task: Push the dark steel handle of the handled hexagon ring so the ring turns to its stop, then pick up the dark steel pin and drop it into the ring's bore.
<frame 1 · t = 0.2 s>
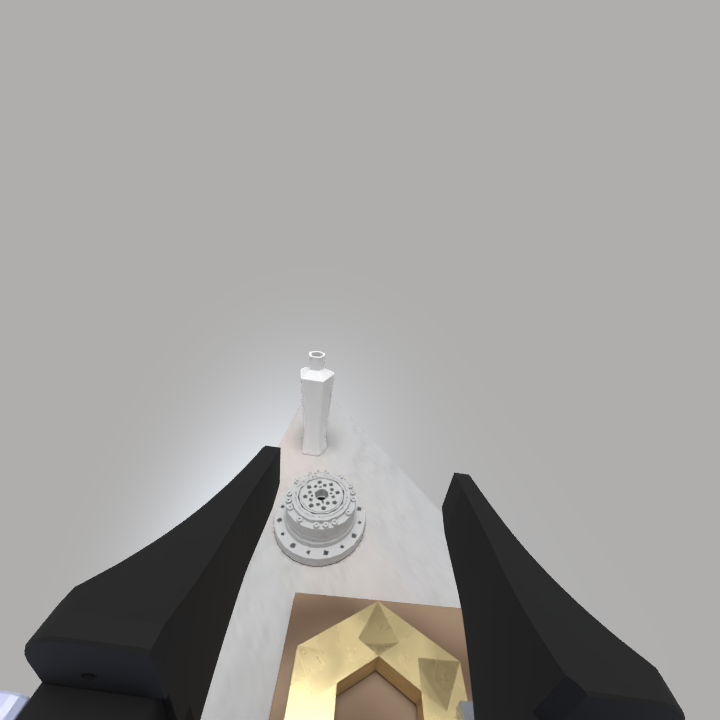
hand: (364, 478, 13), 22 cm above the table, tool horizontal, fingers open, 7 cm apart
mechanical component: (320, 524, 35), on the table
perfume bottle: (312, 448, 46), on the table
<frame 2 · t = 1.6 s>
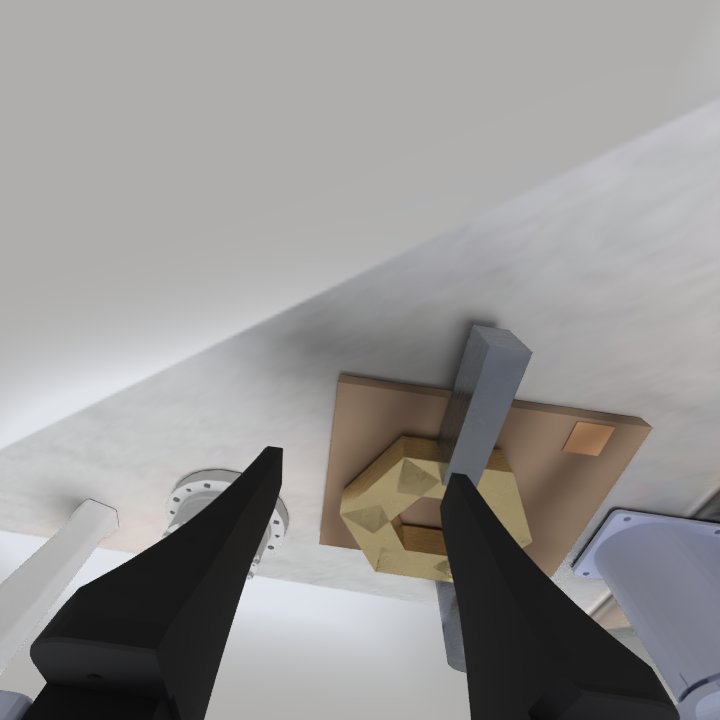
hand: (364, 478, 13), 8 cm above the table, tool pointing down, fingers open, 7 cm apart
mechanical component: (233, 507, 27), on the table
mount board: (458, 483, 24), on the table
handled hexagon ring: (450, 479, 20), point 3 cm above the table, hinge at 0.0°
steel pin: (456, 576, 29), on the table
perfume bottle: (102, 514, 28), on the table
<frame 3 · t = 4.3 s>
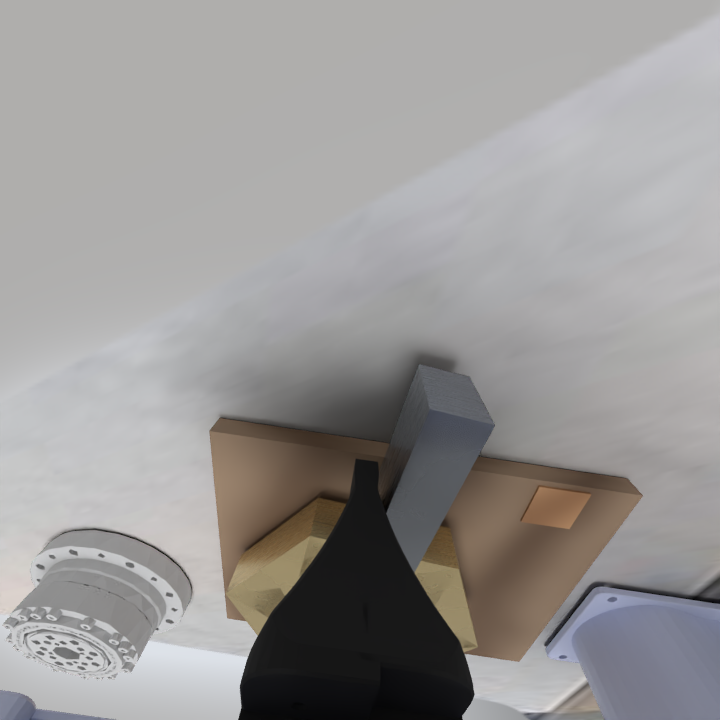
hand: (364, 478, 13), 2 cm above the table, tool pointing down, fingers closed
mechanical component: (125, 570, 22), on the table
mount board: (393, 551, 19), on the table
handled hexagon ring: (375, 564, 15), point 3 cm above the table, hinge at -6.4°, touching gripper
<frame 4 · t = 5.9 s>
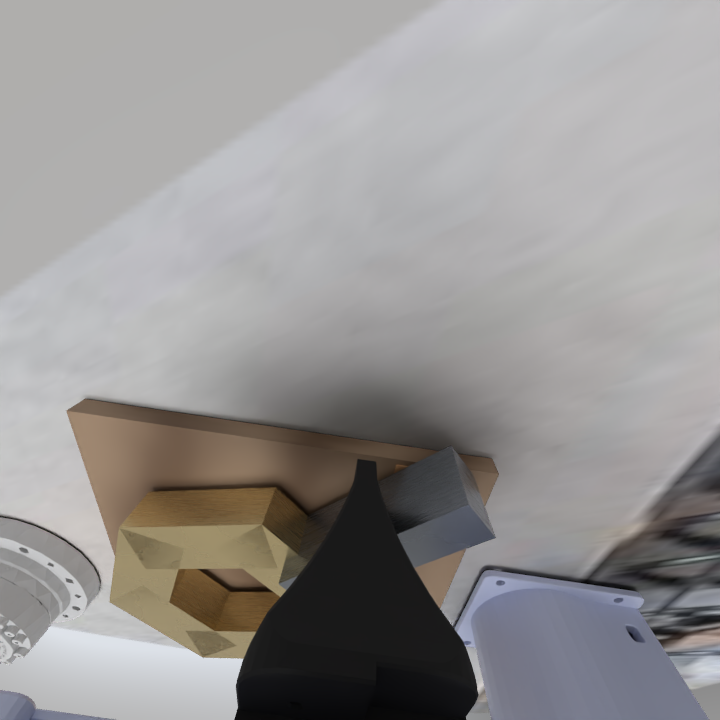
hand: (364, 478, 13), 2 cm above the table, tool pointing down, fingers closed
mechanical component: (34, 557, 22), on the table
mount board: (284, 535, 19), on the table
handled hexagon ring: (288, 567, 15), point 3 cm above the table, hinge at -45.8°, touching gripper
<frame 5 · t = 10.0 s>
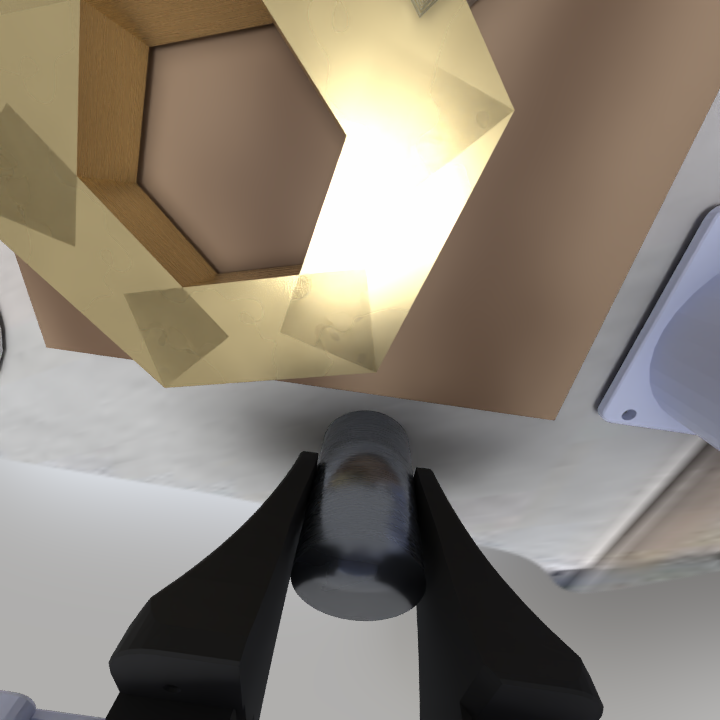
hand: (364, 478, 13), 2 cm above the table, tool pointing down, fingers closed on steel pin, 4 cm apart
mount board: (321, 144, 10), on the table
handled hexagon ring: (351, 15, 6), point 3 cm above the table, hinge at -46.0°
steel pin: (365, 446, 15), on the table, touching gripper
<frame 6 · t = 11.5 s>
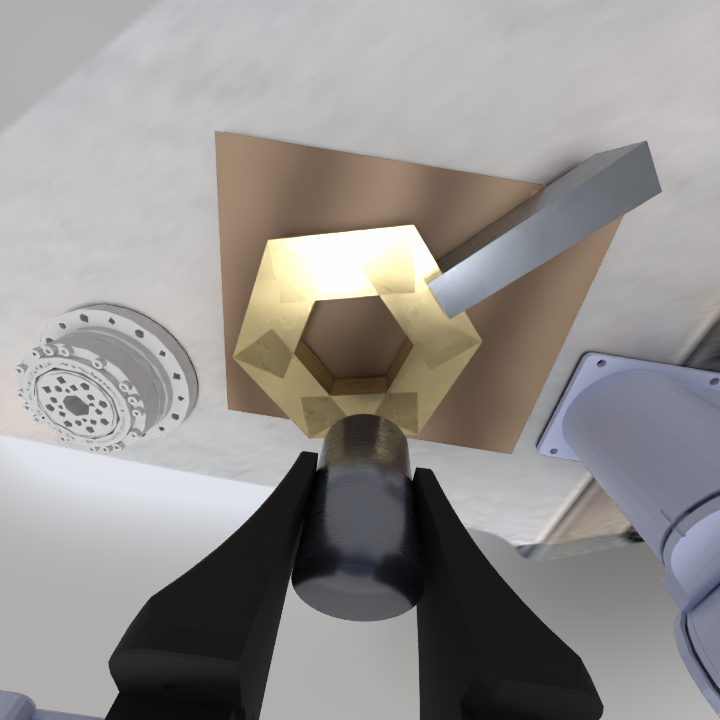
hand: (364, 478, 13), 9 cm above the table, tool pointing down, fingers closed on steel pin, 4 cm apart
mechanical component: (132, 370, 22), on the table
mount board: (391, 318, 19), on the table
handled hexagon ring: (418, 304, 16), point 3 cm above the table, hinge at -46.0°
steel pin: (365, 448, 15), point 7 cm above the table, touching gripper
when the fingers open (4 cm above the table, at t = 13.0 s): steel pin drops 1 cm, resting on mount board.
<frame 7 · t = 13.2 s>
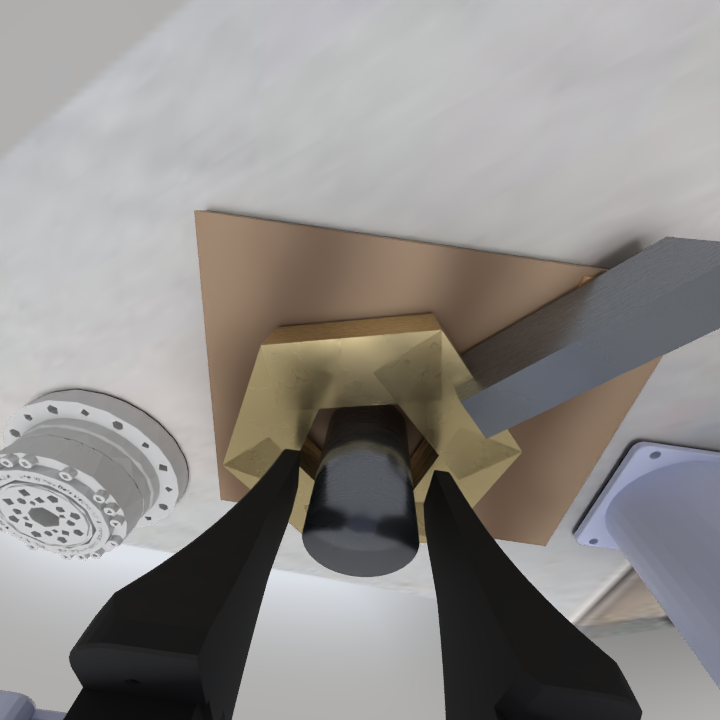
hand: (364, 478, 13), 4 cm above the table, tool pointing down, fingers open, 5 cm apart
mechanical component: (114, 452, 20), on the table
mount board: (408, 405, 16), on the table
handled hexagon ring: (444, 409, 13), point 3 cm above the table, hinge at -46.0°
steel pin: (367, 430, 16), point 1 cm above the table, touching mount board
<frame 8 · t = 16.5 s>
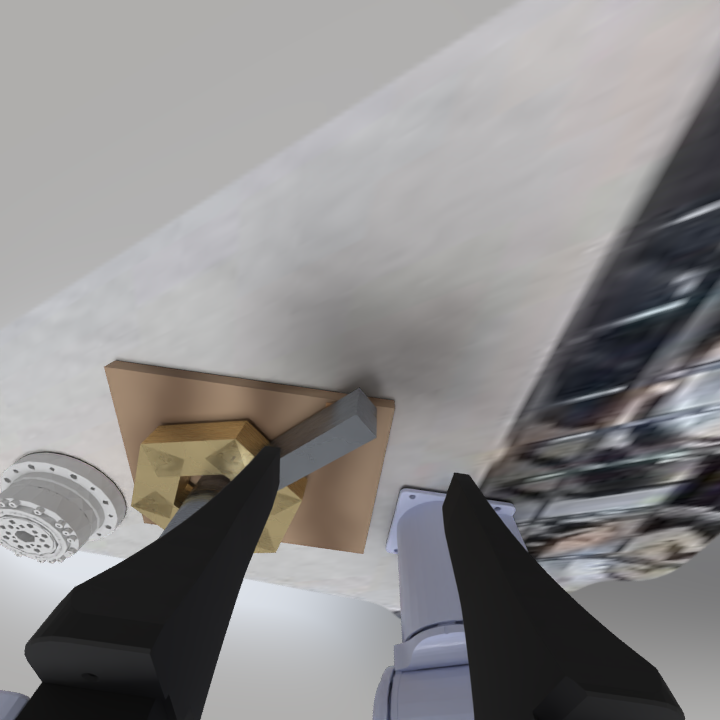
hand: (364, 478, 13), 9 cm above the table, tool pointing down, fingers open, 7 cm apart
mechanical component: (75, 489, 29), on the table
mount board: (256, 464, 26), on the table
handled hexagon ring: (255, 475, 22), point 3 cm above the table, hinge at -46.0°
steel pin: (228, 481, 25), point 1 cm above the table, touching mount board
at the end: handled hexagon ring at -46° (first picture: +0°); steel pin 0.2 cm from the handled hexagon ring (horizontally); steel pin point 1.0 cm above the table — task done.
